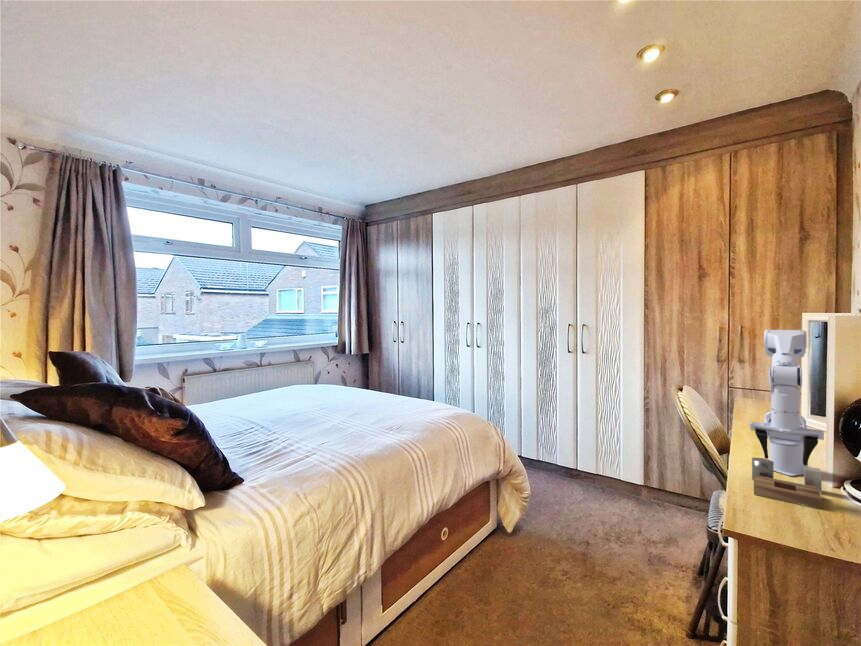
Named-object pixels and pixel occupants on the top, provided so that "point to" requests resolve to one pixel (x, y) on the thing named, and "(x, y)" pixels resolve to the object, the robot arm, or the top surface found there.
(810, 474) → the square bit
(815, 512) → the top surface
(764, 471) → the round bit
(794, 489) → the bore block
